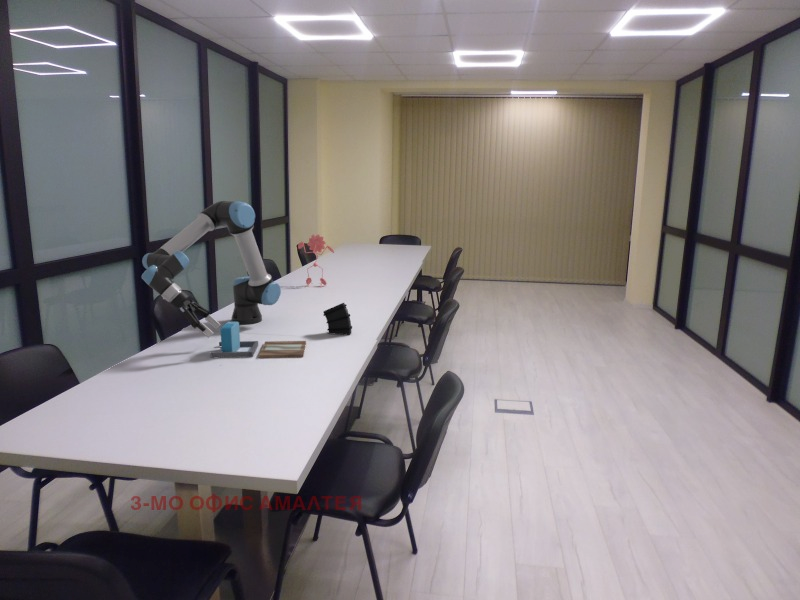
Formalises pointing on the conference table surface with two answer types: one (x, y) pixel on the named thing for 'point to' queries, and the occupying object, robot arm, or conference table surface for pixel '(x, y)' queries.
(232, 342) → the data package
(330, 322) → the magazine
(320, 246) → the figurine
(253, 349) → the grey u-shaped frame
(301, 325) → the conference table surface
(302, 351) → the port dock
